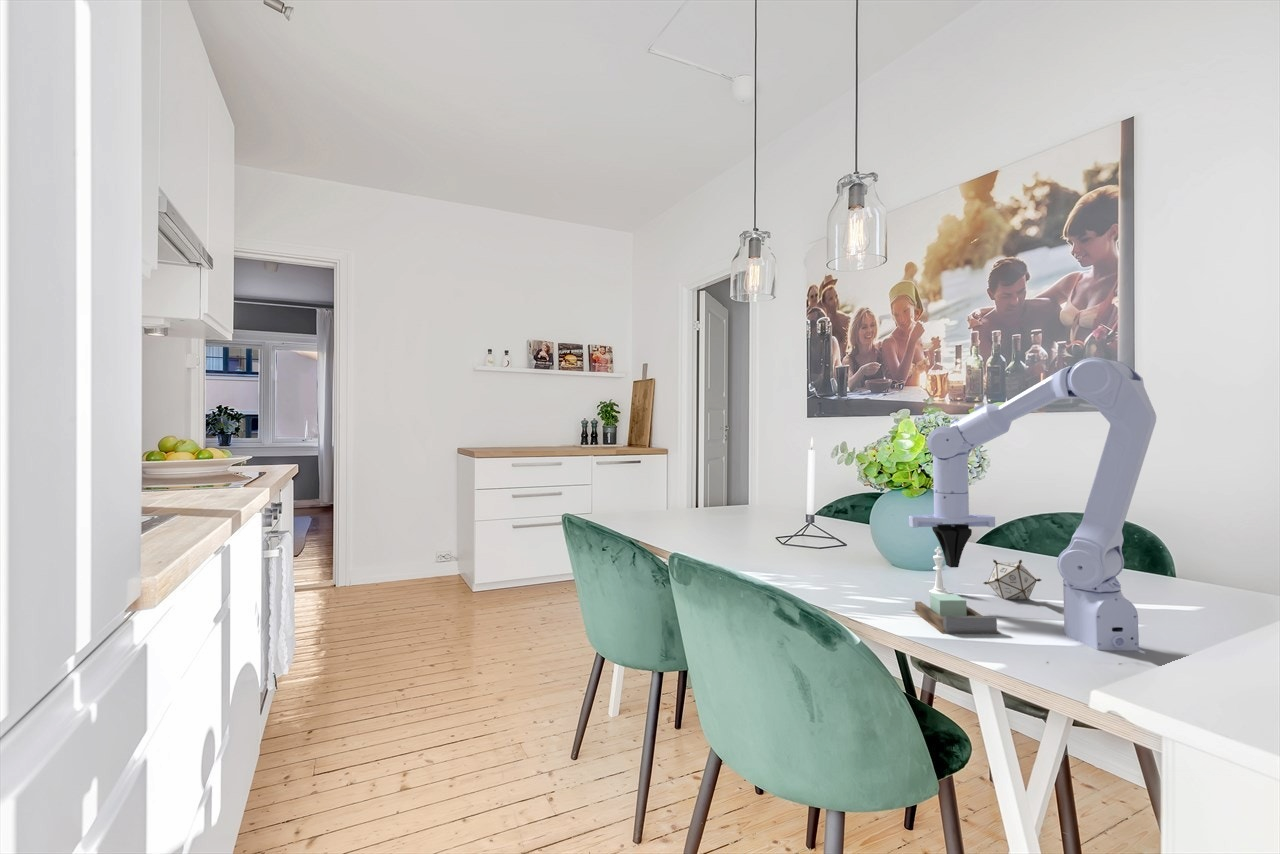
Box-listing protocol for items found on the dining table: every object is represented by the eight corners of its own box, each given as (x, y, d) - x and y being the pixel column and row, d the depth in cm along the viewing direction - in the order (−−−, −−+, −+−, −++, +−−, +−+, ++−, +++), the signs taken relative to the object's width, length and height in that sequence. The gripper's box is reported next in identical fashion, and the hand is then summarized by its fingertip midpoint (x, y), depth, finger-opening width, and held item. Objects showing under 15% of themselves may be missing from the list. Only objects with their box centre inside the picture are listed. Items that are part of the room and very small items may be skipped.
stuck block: (966, 621, 103) (966, 600, 103) (940, 621, 103) (939, 600, 104) (956, 613, 107) (955, 594, 107) (930, 613, 107) (930, 594, 108)
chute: (1001, 640, 97) (1000, 618, 97) (942, 639, 97) (942, 618, 97) (963, 615, 110) (962, 595, 110) (912, 615, 110) (911, 596, 110)
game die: (1014, 618, 119) (1033, 574, 121) (1037, 615, 111) (1056, 568, 113) (969, 593, 121) (989, 551, 124) (988, 589, 113) (1008, 543, 116)
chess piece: (938, 600, 119) (937, 550, 119) (920, 594, 124) (919, 545, 124) (959, 598, 120) (957, 548, 120) (940, 592, 125) (939, 543, 125)
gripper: (981, 489, 115) (982, 561, 115) (902, 490, 116) (903, 561, 116) (1000, 493, 108) (1002, 570, 107) (916, 494, 109) (917, 570, 109)
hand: (952, 566), depth 111 cm, fingers closed
